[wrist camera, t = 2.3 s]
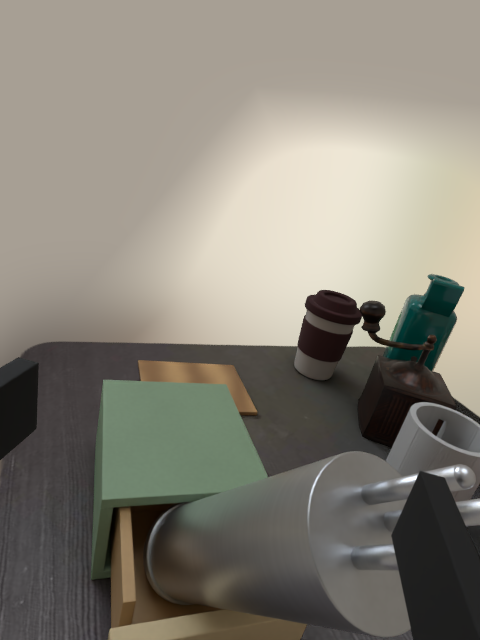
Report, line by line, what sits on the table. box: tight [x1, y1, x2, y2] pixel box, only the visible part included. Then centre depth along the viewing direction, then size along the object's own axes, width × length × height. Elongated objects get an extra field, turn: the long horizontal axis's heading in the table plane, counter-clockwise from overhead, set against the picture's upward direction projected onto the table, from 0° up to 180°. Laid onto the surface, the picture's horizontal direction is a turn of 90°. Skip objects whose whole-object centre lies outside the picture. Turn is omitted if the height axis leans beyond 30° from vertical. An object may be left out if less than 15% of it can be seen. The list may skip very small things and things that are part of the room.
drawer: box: [108, 503, 307, 640], centre depth 30 cm, size 19×13×7 cm
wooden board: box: [138, 360, 257, 415], centre depth 61 cm, size 16×13×1 cm
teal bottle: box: [383, 274, 464, 371], centre depth 76 cm, size 10×8×22 cm
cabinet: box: [91, 380, 268, 580], centre depth 40 cm, size 16×14×9 cm
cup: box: [385, 402, 480, 502], centre depth 46 cm, size 9×9×12 cm
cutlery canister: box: [143, 451, 480, 638], centre depth 22 cm, size 7×7×26 cm
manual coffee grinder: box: [358, 301, 456, 447], centre depth 61 cm, size 16×11×18 cm
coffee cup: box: [294, 290, 362, 380], centre depth 73 cm, size 10×10×15 cm
